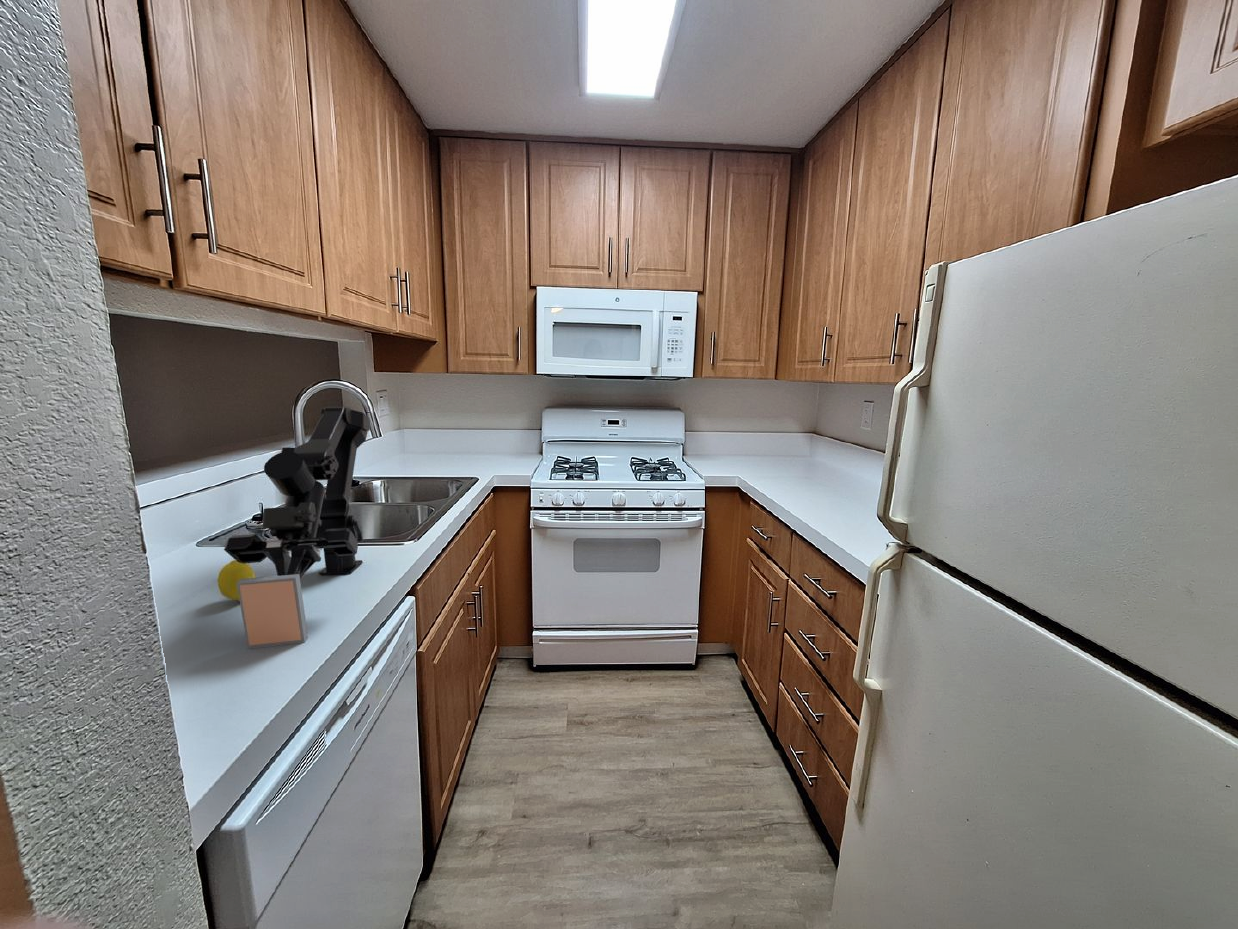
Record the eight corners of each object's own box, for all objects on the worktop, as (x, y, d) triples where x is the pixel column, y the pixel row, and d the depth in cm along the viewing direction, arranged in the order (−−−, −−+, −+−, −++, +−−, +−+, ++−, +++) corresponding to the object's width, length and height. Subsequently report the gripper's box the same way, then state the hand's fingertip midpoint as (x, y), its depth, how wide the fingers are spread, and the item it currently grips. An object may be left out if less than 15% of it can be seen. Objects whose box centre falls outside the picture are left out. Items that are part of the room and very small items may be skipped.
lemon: (253, 591, 97) (246, 553, 95) (262, 599, 94) (255, 559, 92) (217, 602, 93) (210, 561, 91) (226, 610, 89) (218, 569, 88)
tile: (252, 644, 78) (241, 578, 76) (308, 638, 80) (299, 574, 78) (247, 649, 77) (236, 583, 75) (304, 643, 79) (295, 578, 77)
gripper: (221, 489, 81) (190, 579, 72) (345, 482, 85) (331, 568, 76) (251, 521, 90) (228, 605, 81) (363, 514, 94) (352, 594, 85)
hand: (284, 593), depth 81 cm, fingers closed
